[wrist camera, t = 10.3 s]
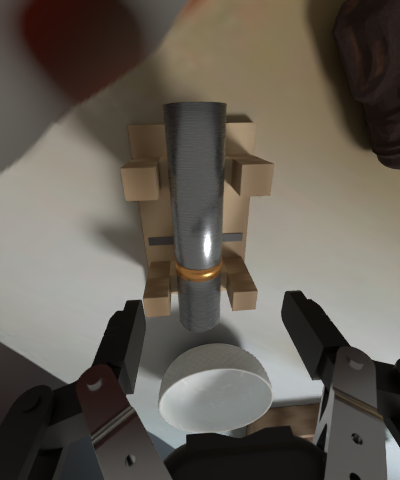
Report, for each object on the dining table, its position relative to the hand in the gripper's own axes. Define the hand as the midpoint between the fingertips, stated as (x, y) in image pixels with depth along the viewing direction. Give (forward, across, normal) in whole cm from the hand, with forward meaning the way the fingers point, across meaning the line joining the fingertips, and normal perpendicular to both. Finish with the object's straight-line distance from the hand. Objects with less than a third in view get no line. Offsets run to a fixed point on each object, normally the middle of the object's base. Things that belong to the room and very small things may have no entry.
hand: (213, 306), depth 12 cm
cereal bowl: (+15, -1, +27) cm, 31 cm away
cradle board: (+15, 0, +1) cm, 15 cm away
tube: (+11, 0, 0) cm, 11 cm away
